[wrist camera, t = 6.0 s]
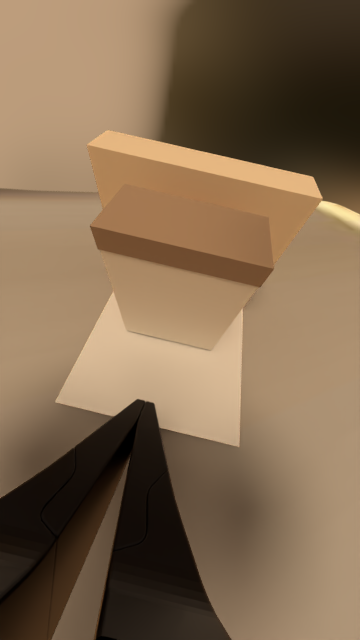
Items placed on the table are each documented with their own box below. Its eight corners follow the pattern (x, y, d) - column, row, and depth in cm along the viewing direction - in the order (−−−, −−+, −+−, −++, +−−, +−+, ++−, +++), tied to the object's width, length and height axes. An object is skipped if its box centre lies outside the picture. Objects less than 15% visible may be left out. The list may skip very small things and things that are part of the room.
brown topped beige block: (211, 351, 16) (274, 268, 8) (125, 330, 16) (90, 225, 8) (216, 314, 18) (268, 217, 10) (139, 296, 18) (124, 183, 10)
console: (236, 446, 14) (457, 509, 4) (58, 403, 14) (-208, 347, 4) (241, 289, 22) (312, 176, 12) (130, 263, 22) (108, 129, 12)
